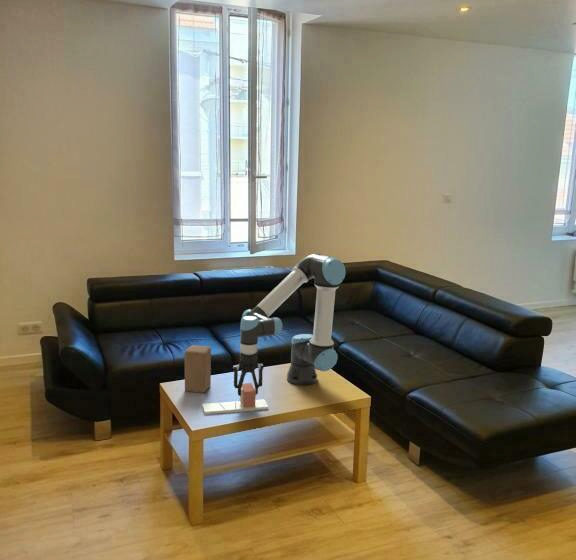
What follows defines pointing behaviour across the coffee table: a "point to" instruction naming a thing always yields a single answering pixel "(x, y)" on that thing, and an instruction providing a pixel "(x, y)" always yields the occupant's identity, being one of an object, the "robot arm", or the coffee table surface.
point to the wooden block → (197, 368)
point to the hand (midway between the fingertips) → (247, 401)
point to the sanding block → (248, 396)
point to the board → (232, 407)
